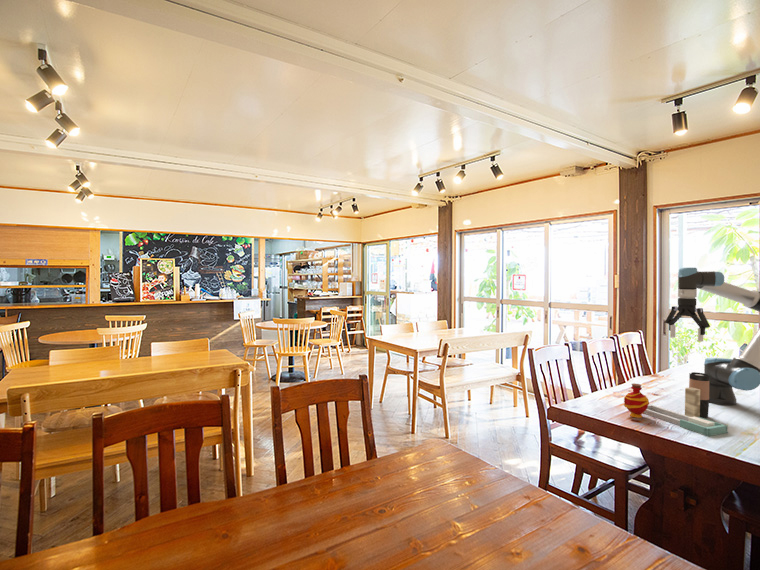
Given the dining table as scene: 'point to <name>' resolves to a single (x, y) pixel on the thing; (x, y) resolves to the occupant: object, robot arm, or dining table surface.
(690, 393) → the light wood tall block
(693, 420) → the cube
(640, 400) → the potion bottle
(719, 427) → the tray
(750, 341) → the robot arm
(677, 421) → the slot rail
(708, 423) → the cube
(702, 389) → the travel mug
